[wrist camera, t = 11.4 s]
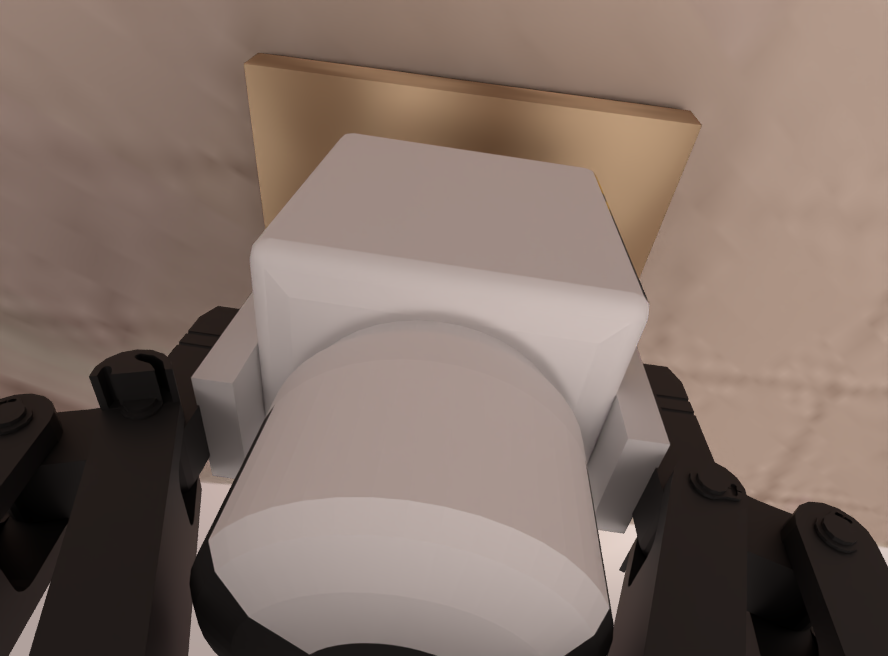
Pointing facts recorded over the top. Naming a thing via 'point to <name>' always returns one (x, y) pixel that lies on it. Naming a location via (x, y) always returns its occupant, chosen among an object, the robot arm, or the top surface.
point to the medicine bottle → (426, 413)
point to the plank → (467, 131)
